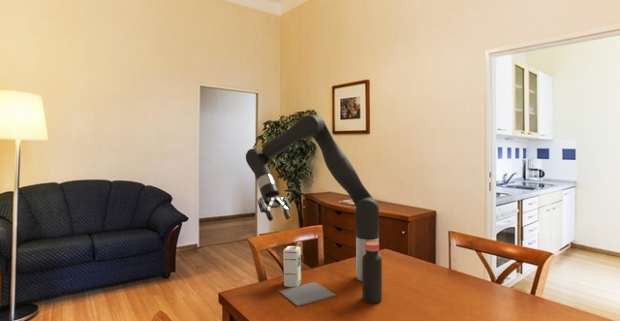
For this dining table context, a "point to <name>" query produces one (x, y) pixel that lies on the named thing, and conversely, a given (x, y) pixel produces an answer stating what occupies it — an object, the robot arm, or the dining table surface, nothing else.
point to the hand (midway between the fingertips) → (280, 219)
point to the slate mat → (306, 293)
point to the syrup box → (292, 266)
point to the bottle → (372, 273)
